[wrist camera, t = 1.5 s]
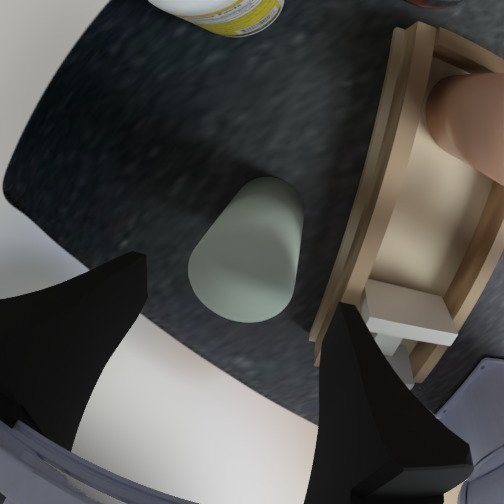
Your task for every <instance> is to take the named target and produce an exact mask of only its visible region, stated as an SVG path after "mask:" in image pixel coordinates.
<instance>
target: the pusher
mask: <svg viewBox="0 0 504 504" xmlns="http://www.w3.org/2000/svg"><path fill="white" fill-rule="evenodd" d="M360 307H361V315H362V318H363V320H364V322H365V324H366V326H367V327H368V329H369V331H370V333H371V334H372V336H373V338H374V340H375V341H376V343H377V345H378V346H379V348H380V349H381V351H382V353H383V354H384V356H385V357H386V359H387V360H388V362H389V363H390V365H391V366H392V368H393V369H394V371H395V372H396V373H397V375H398V376H399V377H400V379H401V380H402V381H403V382H404V384H405V385H406V386H407V387H408V389H409V390H411V389H412V388H413V386H414V385H415V384H414V379H413V374H412V369H411V365H410V360H409V355H408V351H407V347H406V345H402V344H400V343H401V341H402V339H403V338H406V339H412V340H417V341H423V342H428V343H434V344H440V345H446V346H451V345H452V343H453V342H454V340H455V339H456V337H457V336H458V332H457V330H456V327H455V325H454V323H453V320H452V318H451V316H450V314H449V311H448V309H447V307H446V305H445V303H444V300H443V298H442V296H438V295H434V294H430V293H425V292H421V291H417V290H413V289H409V288H405V287H401V286H397V285H392V284H388V283H384V282H380V281H376V280H372V279H367V282H366V284H365V287H364V289H363V291H362V294H361V296H360Z"/></svg>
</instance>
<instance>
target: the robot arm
mask: <svg viewBox="0 0 504 504" xmlns="http://www.w3.org/2000/svg"><path fill="white" fill-rule="evenodd" d="M147 298H148V294H147V266H146V255H145V254H141V253H138V252H134V251H131V252H129V253H126V254H124V255H122V256H119V257H117V258H115V259H113V260H111V261H109V262H107V263H105V264H103V265H101V266H98V267H96V268H94V269H92V270H90V271H88V272H86V273H83V274H81V275H79V276H76V277H74V278H72V279H70V280H67V281H65V282H63V283H60V284H57V285H54V286H51V287H48V288H45V289H42V290H39V291H36V292H32V293H28V294H24V295H20V296H16V297H11V298H6V299H0V492H1V493H2V494H3V495H4V496H6V499H5V501H4V503H3V504H102V503H100V502H98V501H96V500H94V499H92V498H90V497H88V496H86V494H85V493H84V492H82V491H81V490H79V489H78V488H77V487H75V486H74V485H73V484H72V483H71V482H70V481H69V480H68V479H67V478H66V476H65V475H63V474H61V473H60V472H59V471H57V470H56V469H54V468H53V467H51V466H50V465H48V464H47V463H45V462H44V461H46V462H48V463H49V464H51V465H52V466H54V467H56V468H57V469H59V470H61V471H62V472H64V473H66V474H68V475H70V476H71V477H73V478H75V479H77V480H79V481H80V482H82V483H84V484H86V485H88V486H90V487H92V488H94V489H96V490H98V491H100V492H102V493H105V494H107V495H109V496H111V497H113V498H116V499H118V500H120V501H123V502H125V503H127V504H198V503H195V502H191V501H188V500H184V499H181V498H178V497H175V496H171V495H168V494H165V493H163V492H160V491H157V490H154V489H151V488H148V487H146V486H143V485H141V484H138V483H135V482H133V481H131V480H128V479H126V478H123V477H121V476H118V475H116V474H114V473H112V472H110V471H107V470H105V469H103V468H101V467H99V466H97V465H95V464H93V463H91V462H89V461H87V460H85V459H83V458H81V457H79V456H77V455H75V454H73V453H71V450H72V446H73V442H74V439H75V436H76V433H77V429H78V427H79V423H80V421H81V418H82V416H83V413H84V410H85V408H86V405H87V403H88V400H89V398H90V396H91V394H92V391H93V389H94V387H95V385H96V383H97V381H98V379H99V377H100V375H101V373H102V370H103V369H104V367H105V365H106V363H107V362H108V360H109V358H110V357H111V356H112V354H113V352H114V351H115V349H116V348H117V347H118V345H119V344H120V342H121V341H122V339H123V338H124V337H125V335H126V333H127V332H128V331H129V329H130V328H131V326H132V325H133V323H134V322H135V321H136V319H137V317H138V315H139V314H140V312H141V310H142V308H143V306H144V304H145V302H146V300H147ZM438 419H442V423H441V422H440V421H439V420H438ZM43 460H44V461H43ZM466 479H468V480H466ZM465 480H466V481H465ZM463 481H465V482H464V483H463V485H462V487H461V490H460V492H459V495H458V501H457V504H504V360H502V359H494V358H484V359H482V360H481V361H480V363H479V364H478V365H477V367H476V368H475V369H474V371H473V372H472V373H471V374H470V376H469V377H468V378H467V379H466V380H465V382H464V383H463V384H462V385H461V386H460V388H459V389H458V390H457V391H456V392H455V393H454V395H453V396H452V397H451V398H450V399H449V400H448V401H447V402H446V404H445V405H444V406H443V407H442V408H441V409H440V410H439V411H438V412H437V413H436V415H435V416H434V415H433V414H432V413H431V412H430V411H429V410H428V409H427V408H426V407H425V406H424V405H423V404H422V403H421V402H420V401H419V400H418V399H417V398H416V397H415V396H414V394H413V393H412V392H411V391H410V390H409V389H408V387H407V386H406V385H405V384H404V382H403V381H402V380H401V379H400V377H399V376H398V375H397V373H396V372H395V371H394V369H393V368H392V366H391V365H390V363H389V362H388V360H387V359H386V357H385V356H384V354H383V353H382V351H381V349H380V348H379V346H378V345H377V343H376V341H375V340H374V338H373V336H372V334H371V333H370V331H369V329H368V327H367V326H366V324H365V322H364V320H363V318H362V317H361V315H360V313H359V311H358V309H357V308H356V306H355V305H353V304H348V303H343V302H339V303H338V305H337V308H336V310H335V312H334V315H333V317H332V320H331V322H330V324H329V327H328V329H327V331H326V334H325V336H324V338H323V340H322V346H321V354H320V364H319V427H318V435H317V441H316V448H315V454H314V460H313V465H312V470H311V476H310V480H309V485H308V489H307V493H306V497H305V501H304V504H443V503H444V495H443V494H444V493H446V492H448V491H449V490H451V489H452V488H454V487H456V486H457V485H459V484H460V483H462V482H463Z"/></svg>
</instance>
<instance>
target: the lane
mask: <svg viewBox="0 0 504 504" xmlns="http://www.w3.org/2000/svg"><path fill="white" fill-rule="evenodd" d="M482 73H504V60H503V59H502V58H500V57H498V56H497V55H495V54H493V53H492V52H490V51H488V50H486V49H484V48H483V47H481V46H479V45H477V44H475V43H473V42H471V41H469V40H467V39H465V38H463V37H461V36H459V35H457V34H455V33H453V32H451V31H449V30H446V29H444V28H442V27H439V28H434V27H432V26H430V25H427V24H425V23H422V22H420V21H417V22H416V23H414V24H413V25H411V26H410V27H409V28H407V29H406V30H404V29H401V28H398V27H396V28H395V29H394V30H393V36H392V42H391V48H390V53H389V59H388V64H387V69H386V74H385V79H384V84H383V89H382V94H381V98H380V103H379V107H378V112H377V116H376V120H375V125H374V129H373V133H372V137H371V141H370V145H369V149H368V153H367V157H366V161H365V164H364V168H363V172H362V175H361V179H360V183H359V186H358V190H357V193H356V197H355V200H354V204H353V207H352V210H351V214H350V217H349V220H348V223H347V227H346V230H345V233H344V236H343V239H342V243H341V246H340V249H339V252H338V255H337V258H336V261H335V264H334V267H333V270H332V273H331V276H330V279H329V281H328V284H327V287H326V290H325V293H324V296H323V298H322V301H321V304H320V307H319V309H318V312H317V315H316V317H315V320H314V323H313V325H312V328H311V331H310V333H309V341H314V342H315V350H314V364H313V366H317V367H319V364H320V354H321V346H322V340H323V338H324V336H325V334H326V331H327V329H328V327H329V324H330V322H331V320H332V317H333V315H334V312H335V310H336V308H337V305H338V303H339V302H343V303H348V304H353V305H355V306H356V308H357V309H358V311H359V313H360V315H361V307H360V296H361V294H362V291H363V289H364V287H365V284H366V282H367V279H372V280H376V281H380V282H384V283H388V284H392V285H397V286H401V287H405V288H409V289H413V290H417V291H421V292H425V293H430V294H434V295H438V296H442V298H443V300H444V303H445V305H446V307H447V309H448V311H449V314H450V316H451V318H452V320H453V323H454V325H455V327H456V330H457V332H458V331H459V330H460V328H461V327H462V325H463V324H464V322H465V320H466V319H467V317H468V315H469V314H470V312H471V310H472V309H473V307H474V305H475V304H476V302H477V300H478V298H479V296H480V295H481V293H482V291H483V289H484V287H485V286H486V284H487V282H488V280H489V278H490V276H491V274H492V272H493V270H494V268H495V266H496V264H497V262H498V260H499V258H500V256H501V254H502V251H503V249H504V186H502V185H501V184H499V183H498V182H496V181H494V180H493V179H491V178H490V177H488V176H486V175H485V174H483V173H481V172H480V171H478V170H476V169H475V168H473V167H471V166H470V165H468V164H466V163H464V162H462V161H461V160H459V159H457V158H455V157H453V156H452V155H450V154H448V153H446V152H445V151H444V150H442V149H441V148H440V147H439V146H438V145H437V143H436V142H435V141H434V139H433V137H432V136H431V134H430V131H429V129H428V126H427V121H426V113H425V112H426V102H427V98H428V95H429V93H430V91H431V89H432V88H433V86H434V85H435V84H436V83H437V82H438V81H440V80H441V79H443V78H445V77H448V76H452V75H465V74H482ZM361 317H362V315H361ZM400 344H402V345H406V347H407V351H408V355H409V360H410V365H411V369H412V374H413V379H414V382H415V383H422V382H423V381H424V380H425V378H426V377H427V376H428V375H429V373H430V372H431V371H432V369H433V368H434V366H435V365H436V364H437V362H438V361H439V360H440V358H441V357H442V355H443V354H444V352H445V351H446V350H447V348H448V347H449V346H446V345H440V344H434V343H428V342H423V341H417V340H412V339H406V338H403V339H402V341H401V343H400Z"/></svg>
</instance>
